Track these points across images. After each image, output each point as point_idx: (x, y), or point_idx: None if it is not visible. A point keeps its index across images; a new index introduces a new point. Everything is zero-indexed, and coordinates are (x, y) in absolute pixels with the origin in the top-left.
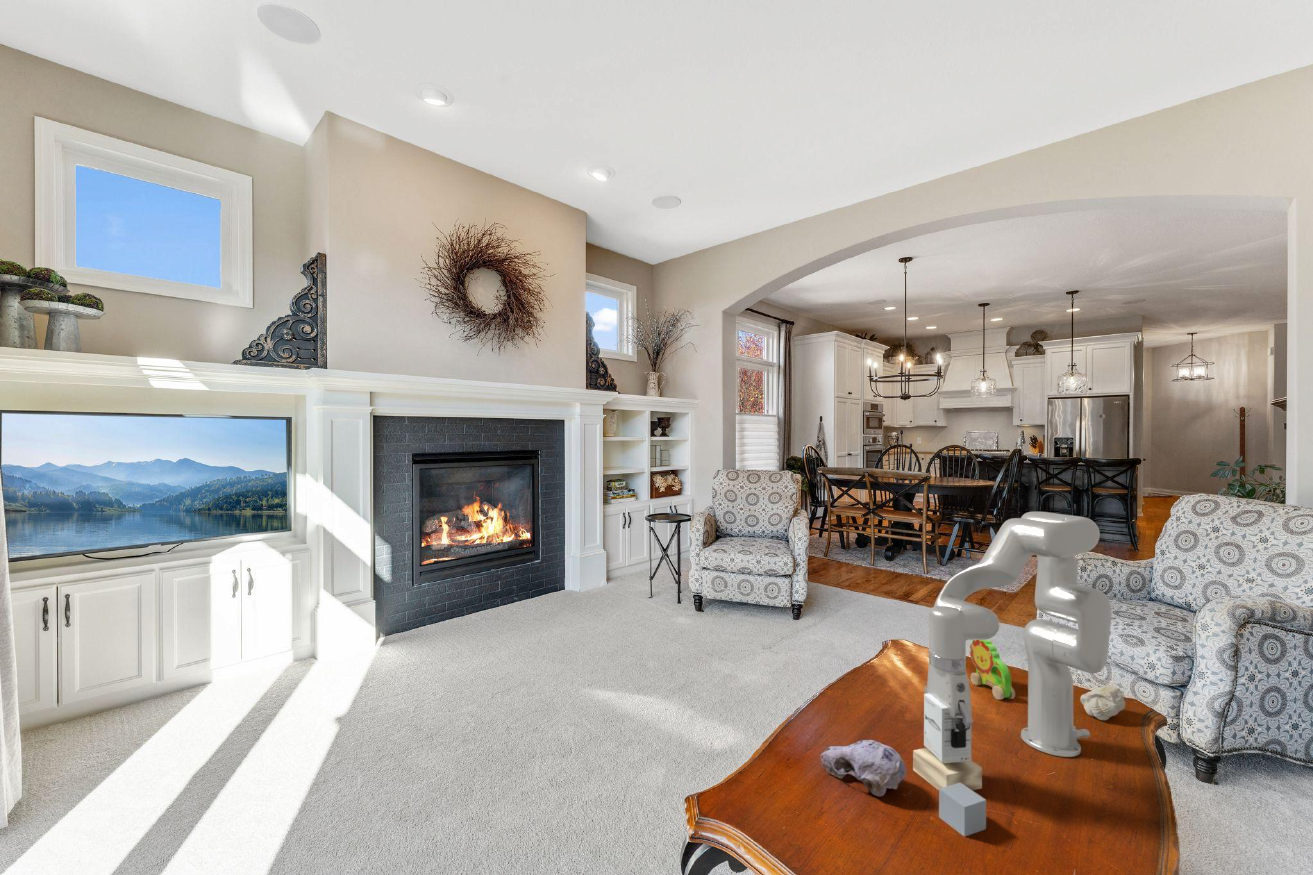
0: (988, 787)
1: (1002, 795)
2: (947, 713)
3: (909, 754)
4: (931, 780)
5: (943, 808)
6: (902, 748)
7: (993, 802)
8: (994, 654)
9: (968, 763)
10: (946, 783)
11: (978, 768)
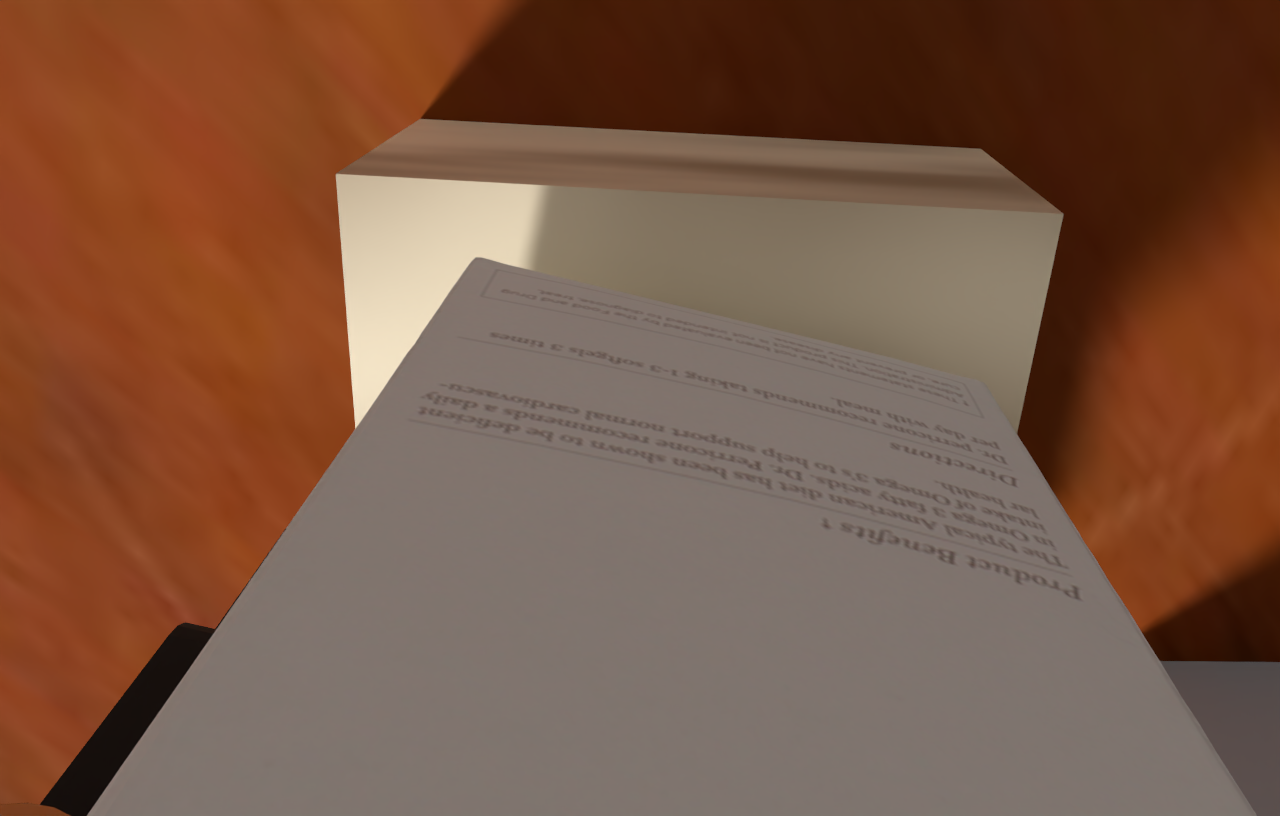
0: (1012, 52)
1: (1203, 25)
2: None
3: (168, 410)
4: None
5: None
6: (39, 392)
7: (1215, 260)
8: None
9: (892, 321)
10: None
11: (1048, 284)
